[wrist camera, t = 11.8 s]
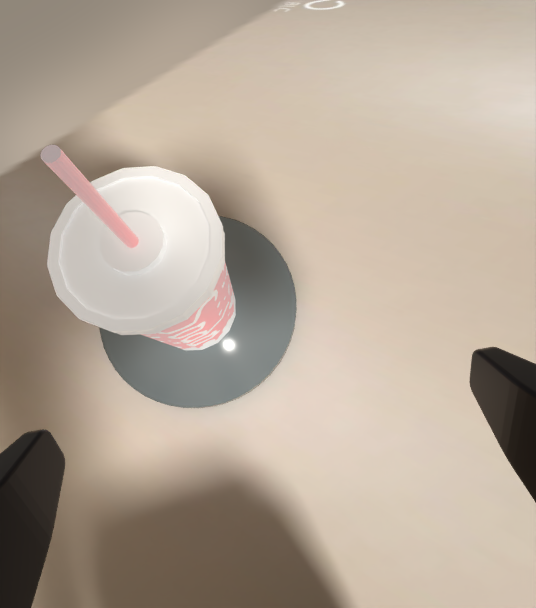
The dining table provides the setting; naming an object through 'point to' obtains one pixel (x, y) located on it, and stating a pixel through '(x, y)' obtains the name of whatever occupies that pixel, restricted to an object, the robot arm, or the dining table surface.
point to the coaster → (233, 346)
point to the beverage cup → (141, 255)
